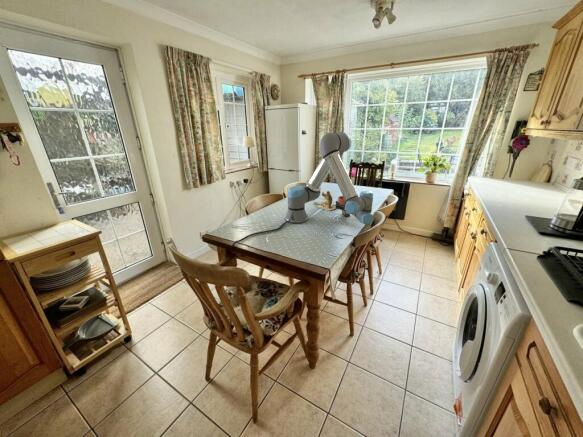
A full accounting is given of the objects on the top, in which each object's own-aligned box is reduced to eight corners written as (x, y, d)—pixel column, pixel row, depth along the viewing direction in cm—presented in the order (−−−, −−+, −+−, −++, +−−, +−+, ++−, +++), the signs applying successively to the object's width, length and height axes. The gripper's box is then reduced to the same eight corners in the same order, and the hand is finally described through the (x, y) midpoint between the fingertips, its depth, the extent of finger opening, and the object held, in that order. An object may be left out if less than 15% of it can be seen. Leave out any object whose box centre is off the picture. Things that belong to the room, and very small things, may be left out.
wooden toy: (338, 208, 187) (339, 191, 182) (329, 211, 181) (330, 194, 176) (319, 202, 204) (320, 186, 199) (310, 204, 198) (311, 188, 193)
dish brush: (350, 216, 170) (351, 195, 164) (344, 217, 169) (345, 195, 163) (347, 213, 175) (348, 193, 170) (341, 214, 175) (342, 193, 169)
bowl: (343, 207, 189) (344, 201, 187) (334, 203, 200) (334, 196, 198) (357, 205, 194) (357, 198, 192) (347, 201, 205) (347, 194, 203)
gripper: (339, 218, 152) (328, 208, 171) (374, 215, 155) (360, 205, 175) (339, 207, 149) (329, 198, 168) (376, 204, 153) (361, 195, 172)
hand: (345, 201), depth 172 cm, fingers open, 13 cm apart
